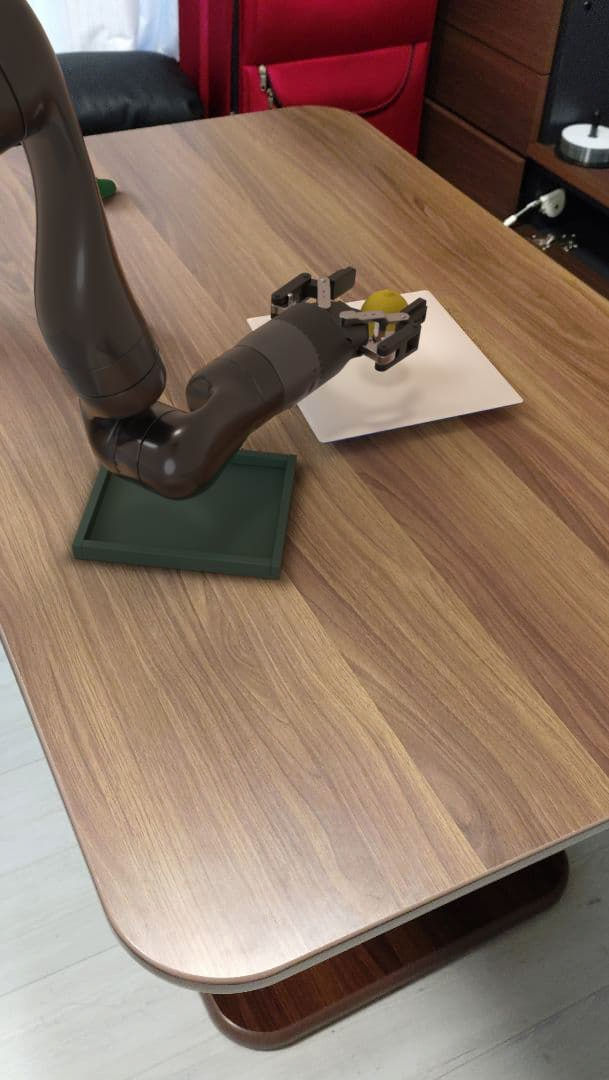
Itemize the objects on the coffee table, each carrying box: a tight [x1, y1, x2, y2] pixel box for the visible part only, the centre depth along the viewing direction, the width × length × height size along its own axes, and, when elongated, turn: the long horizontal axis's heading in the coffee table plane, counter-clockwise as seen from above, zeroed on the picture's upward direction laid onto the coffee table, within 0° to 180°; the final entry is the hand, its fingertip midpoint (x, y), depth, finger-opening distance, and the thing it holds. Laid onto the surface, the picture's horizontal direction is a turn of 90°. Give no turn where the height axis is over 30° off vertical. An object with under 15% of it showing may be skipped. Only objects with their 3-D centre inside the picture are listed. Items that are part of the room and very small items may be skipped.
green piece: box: [95, 176, 117, 199], centre depth 127 cm, size 9×4×6 cm
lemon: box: [361, 288, 408, 337], centre depth 100 cm, size 6×6×8 cm
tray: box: [71, 448, 298, 580], centre depth 87 cm, size 18×15×2 cm
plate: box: [246, 289, 524, 445], centre depth 104 cm, size 22×22×2 cm
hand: (386, 290), depth 97 cm, fingers open, 8 cm apart
